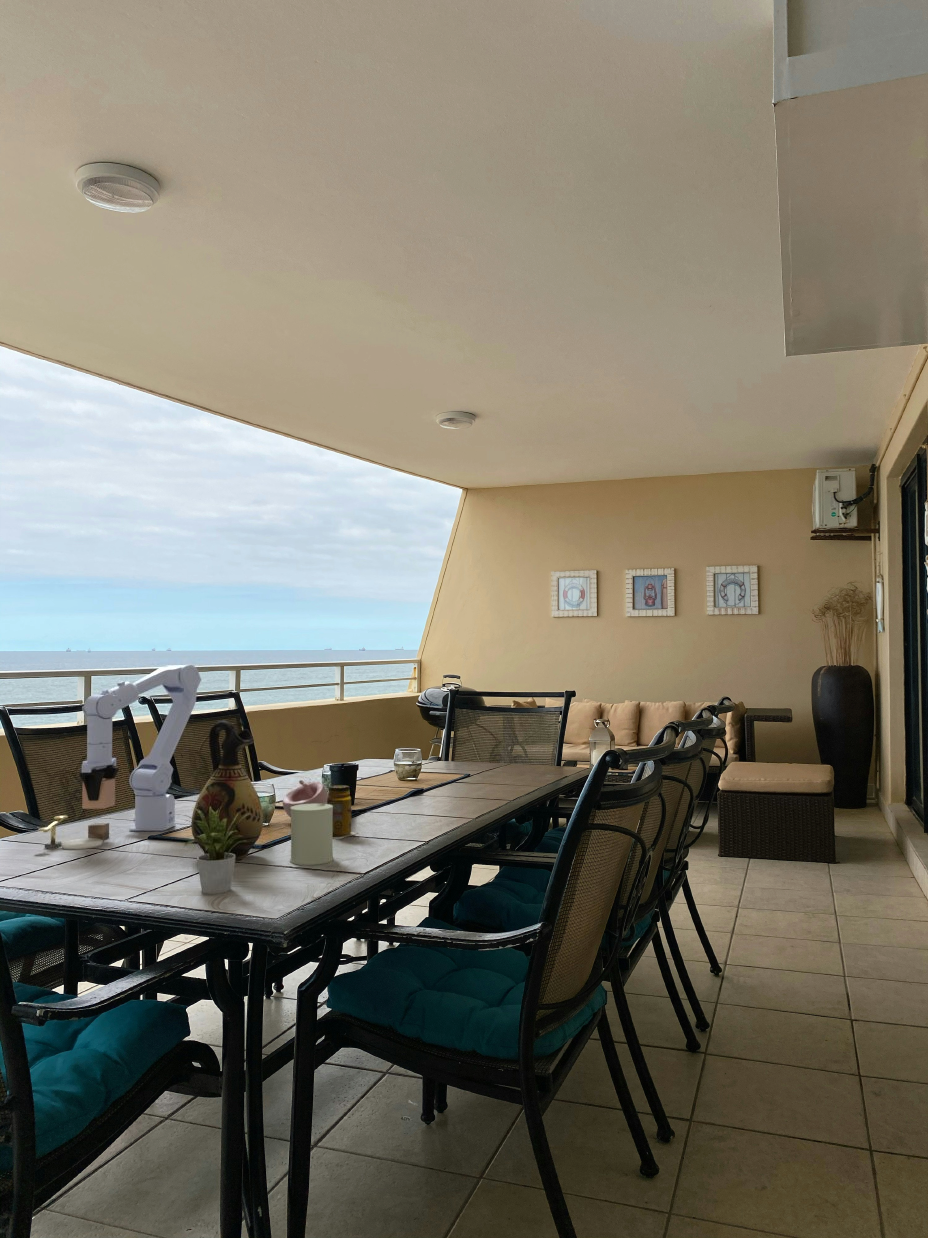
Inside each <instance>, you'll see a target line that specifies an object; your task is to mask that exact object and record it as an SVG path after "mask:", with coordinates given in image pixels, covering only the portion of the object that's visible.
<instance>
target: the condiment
mask: <svg viewBox="0 0 928 1238" xmlns="http://www.w3.org/2000/svg"><path fill="white" fill-rule="evenodd" d="M350 789H351V788H350V786H349V785H345V784H344V785H343V784H337V785H335V784H334V785H330V786H329V787H328V789H327V790H328V792H327V795H328V798H327V804H330V805H332V806H333V816H332V839H335V840H338V839H339V840H341V839H344V838H347V837H350V836H353V835H357V834H358V832H356V831H352V797H351V796H350V794H351V793H350V792H351V791H350Z"/></svg>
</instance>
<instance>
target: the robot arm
mask: <svg viewBox="0 0 928 1238" xmlns="http://www.w3.org/2000/svg"><path fill="white" fill-rule="evenodd" d="M201 682H202V678H201V675H200V672H199V670H198V668H197V666H195V665H192V664H185V665H183V664H182V665H181V664H180V665H173V664H167V665H164V666H162V667H159V668H157V669H156V670H154V671H153V672H151V673H148V674H147V675H145V676H143V677H141V678H140V679H138V680H136V681H134V682H133V683H132V682H129V681H124V680H123V681H119V682H117V683H116V684H117V685H116V686H113V687H111V688H109V689H103V690H101V693H100V694H93V695H90V696H89V697H88V698H86V700H85V701H84V704H83V706H82V707H81V710H82V712H83V714H84V716H85V718H86V721H85V722H86V724H87V725H86V727H87V731H86V735H87V736H86V737H87V738H86V739H87V740H86V742H87V744H86V745H87V748H86V760H84V761H82V764H81V771H79V772H78V773H79V775H78V776H79V777H80V779H81V780H82V784H83V783H84V785H85V788H86V792H87V796H88V800H89V801H97V800H98V798H99V793H100V785H101V781H102V778H106V779H116V776H117V774H118V772H119V770H120V767H119V766H117V757H113V717H115V715H116V714H118V713H117V712H118V711H120V710H122V709H124V708H126V707H127V706H130V705H131V704H133V703H136V702H137V700H138V699H139V696H140V695H142V694H144V693H146V692H149V691H150V690H153V689H155V688H157V687H160V686H162V687H163V689H164V690H165V692H166V693H167V694H168V696H169V697H170V698H171V700H172V704H171V707H170V708H169V711H168V713H167V715H166V718H165V720H164V722H163V724H162V726H161V729H160V731H159V732H158V735H157V737H156V740H155V742H153V743H154V744H153V746H152V747H151V750H150V751H149V752H150V753H149V754H148V755H147V756H146V757H144V758H143V759H141V760H140V762H139V763H138V765H137V766H136V768H134V770H132V772H131V773H130V776H129V786H130V788H131V789H132V790H133V793H134V794H135V795H134V797H135V799H134V826H132V827H130V828H128V831H130V832H131V831H136V832H137V831H140V832H141V831H143V832H144V831H145V832H146V831H151V832H153V831H155V832H156V831H158V832H159V831H167V830H168V829H170V828H172V827H175V826H176V822H175V821H176V819H175V818H176V817H175V816H176V815H174V814H176V812H175V810H176V808H175V805H176V802H175V796H174V795H173V794H170V793H169V794H168V793H167V791H168V790H169V788H170V786H171V782H172V774H173V773H174V772H173V771H174V768H173V766H172V765H171V763H170V762H171V760H172V757H173V755H174V753H175V750H176V748H177V746H178V743H179V742H180V739H181V737H182V734H183V732H184V730H185V728H186V726H187V723H188V721H189V720H190V717H191V714H192V712H193V710H194V708H195V706H196V703H197V693H198V692H197V691H198V688H199V686H200V684H201Z"/></svg>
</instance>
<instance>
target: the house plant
mask: <svg viewBox="0 0 928 1238" xmlns="http://www.w3.org/2000/svg"><path fill="white" fill-rule="evenodd" d="M221 807H222V806H221ZM194 809H196V808H194V807H193V810H194ZM220 809H221V808H220ZM196 810H197V811H198V813H199V814H200V816H201V819H202V821H197V822H198V823H199V824H198V823H197V822H196V821H195V820H194V819H193V818H192V816H189V815H186V814H183V816H185V817H187V818H189V819H191V820H192V819H193V820H194V821H195V822H196V823H197V824H196V825H198V826H199V827H200V828H201V829H202V831H203V832H204V834H202V835H200V836H197V837H199V838H200V839H202V841H203V842H204V843H203V842H200V841H195V840H190V839H189V838H186V837H185V839H186V840H189V841H186V842H185V843H184V845H183V846H182V848H184V847H187V846H188V845H190V844H194V843H197V842H200V843H202V844H203V845H204V846H205V848H206V850H208V853H209V854H204V853H203V854H202V855H199V856H197V857H196V862H197V868H198V875H199V882H200V886H201V892H202V893H204V894H211V895H212V894H221V893H226V892H229V891H230V890H231V888H232V887H231V886H232V881H233V874H234V869H235V862H236V861H235V854H232V853H229V852H230V851H231V849H232V848H233V847H234V846H235V845H236V844H238V843H240V842H243V841H246V840H243V841H240V842H238V843H236V844H235V845H233V846H232V847H231V849H230V850H229V852H228V853H225V852H226V850H227V848H228V847H229V846H230V844H231V843H232V842H233V841H234V840H235V839H237V838H239V837H242V836H240V835H237V836H233V837H231V838H230V839H229V840H228V841H227V842H226V840H227V838H228V836H229V835H230V834H231V833H232V832H234V831H232V830H231V831H230V832H229V829H230V828H231V826H232V824H233V823H234V821H235V819H236V817H237V815H238V814H239V813H238V814H237V815H236V817H235V818H234V820H233V821H232V823H231V825H230V827H229V828H228V830H227V832H226V835H225V836H224V834H225V830H226V821H227V818H225V819H223V820H222V821H221V822H220V820H219V812H220V810H219V809H218V810H219V812H218V810H217V811H216V812H214V811H213V810H212V809H211V807H210V808H209V823H210V829H209V827H208V824H207V822H206V819H205V816H204V815H203V813H202V812H201V811H200V810H198V809H196ZM217 812H218V815H217ZM250 814H251V813H250ZM174 815H175V816H176V815H177V816H180V814H179V813H178V814H176V813H175V814H174ZM247 815H248V814H247ZM245 816H246V815H245ZM245 816H244V817H245ZM244 817H243V818H244ZM185 822H189V823H190V824H191V823H192V821H190V820H187V819H185ZM192 824H193V823H192ZM193 825H194V824H193ZM194 826H195V825H194ZM195 827H196V826H195ZM234 827H235V826H234ZM234 827H233V828H234ZM196 828H197V827H196ZM233 828H232V829H233ZM197 830H198V829H197ZM198 831H199V830H198ZM236 832H237V831H236ZM200 834H201V833H200ZM177 838H179V839H184V837H181V836H179V837H177ZM225 843H226V844H225ZM197 848H198V849H199V850H201V848H200V846H197Z"/></svg>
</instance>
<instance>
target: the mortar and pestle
mask: <svg viewBox="0 0 928 1238" xmlns="http://www.w3.org/2000/svg"><path fill="white" fill-rule="evenodd" d="M298 783H299V784H300V785H298V786H295V788H293V789H291V790H289V791H288V792H287V793H286V794H285V795H284V797H283V799H282V806H283V810H284V811H285V813H286V815H287V816H288V817H289V818H290V819H291V809H290V808H291V807H292V806H295V805H300V804H314V803H319V804H327V798H328V791H327V789H326V788H325V785H324V784H323V783H322V782H320V781H308V782H304V781H303V780H302V779H300V780H298Z"/></svg>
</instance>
